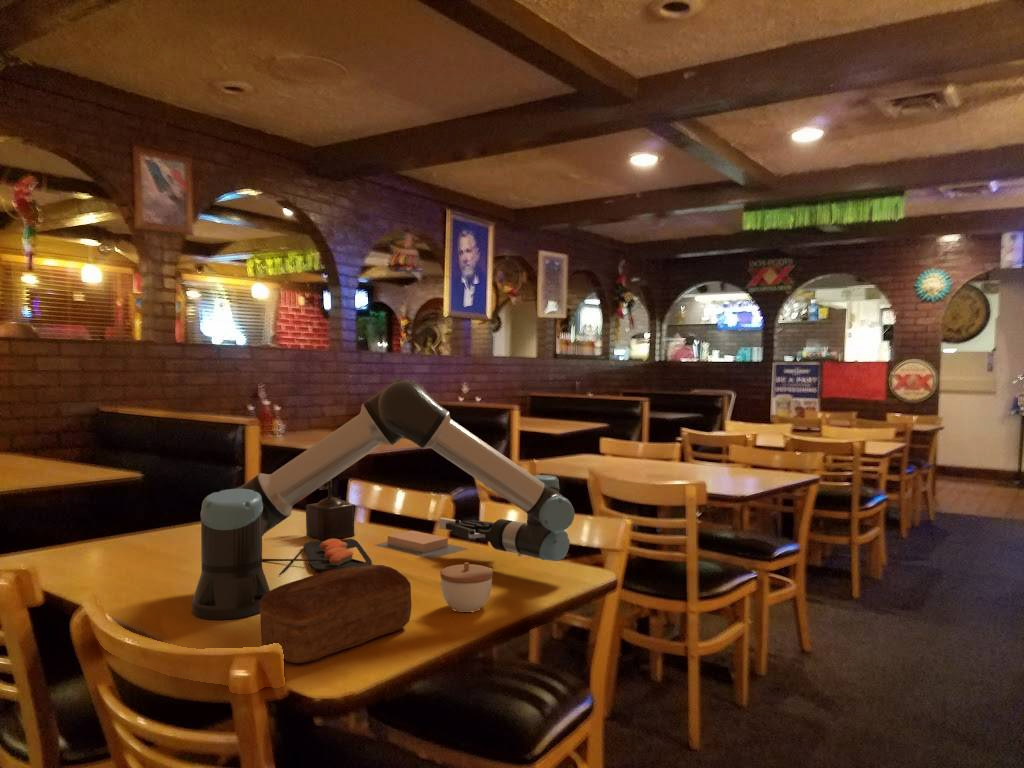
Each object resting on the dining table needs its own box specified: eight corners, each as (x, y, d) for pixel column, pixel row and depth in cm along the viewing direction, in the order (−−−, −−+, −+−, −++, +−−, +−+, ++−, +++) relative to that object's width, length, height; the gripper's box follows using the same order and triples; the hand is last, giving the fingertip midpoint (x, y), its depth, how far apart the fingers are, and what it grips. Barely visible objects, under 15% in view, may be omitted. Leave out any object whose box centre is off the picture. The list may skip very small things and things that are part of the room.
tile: (447, 538, 199) (412, 530, 208) (423, 544, 192) (387, 535, 201) (447, 546, 200) (412, 538, 208) (423, 553, 193) (387, 544, 201)
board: (468, 552, 198) (468, 548, 198) (431, 562, 187) (431, 558, 187) (412, 539, 212) (412, 536, 212) (374, 548, 201) (374, 544, 201)
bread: (247, 653, 128) (247, 583, 127) (373, 612, 150) (373, 552, 149) (294, 675, 119) (294, 600, 119) (421, 628, 141) (421, 564, 140)
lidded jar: (465, 596, 160) (465, 553, 160) (502, 607, 153) (503, 562, 153) (429, 609, 152) (429, 563, 151) (467, 620, 145) (467, 573, 145)
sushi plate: (374, 572, 180) (374, 556, 180) (243, 584, 169) (243, 567, 169) (355, 544, 207) (355, 531, 207) (241, 554, 197) (241, 539, 197)
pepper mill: (357, 536, 216) (357, 474, 215) (324, 542, 208) (324, 478, 208) (328, 527, 227) (328, 469, 226) (296, 533, 219) (296, 472, 218)
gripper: (493, 556, 175) (423, 541, 190) (526, 546, 185) (457, 532, 200) (493, 525, 175) (423, 512, 190) (526, 516, 185) (457, 505, 200)
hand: (441, 523), depth 195 cm, fingers closed
